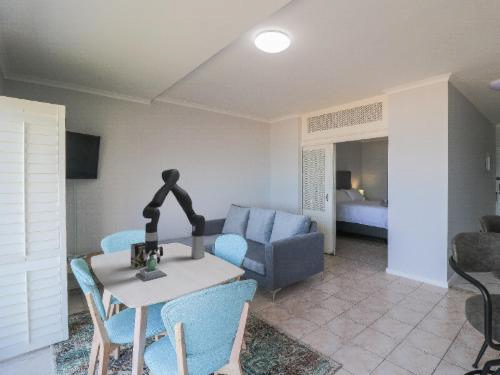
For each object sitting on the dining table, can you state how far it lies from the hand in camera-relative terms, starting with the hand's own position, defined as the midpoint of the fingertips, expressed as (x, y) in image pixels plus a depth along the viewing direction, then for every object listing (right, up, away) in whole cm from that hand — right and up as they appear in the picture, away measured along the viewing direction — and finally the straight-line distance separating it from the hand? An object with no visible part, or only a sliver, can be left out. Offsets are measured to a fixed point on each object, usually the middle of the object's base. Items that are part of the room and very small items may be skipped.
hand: (151, 264), depth 168 cm
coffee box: (-14, -6, +16) cm, 22 cm away
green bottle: (0, -6, 0) cm, 6 cm away
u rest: (0, -7, 0) cm, 7 cm away
